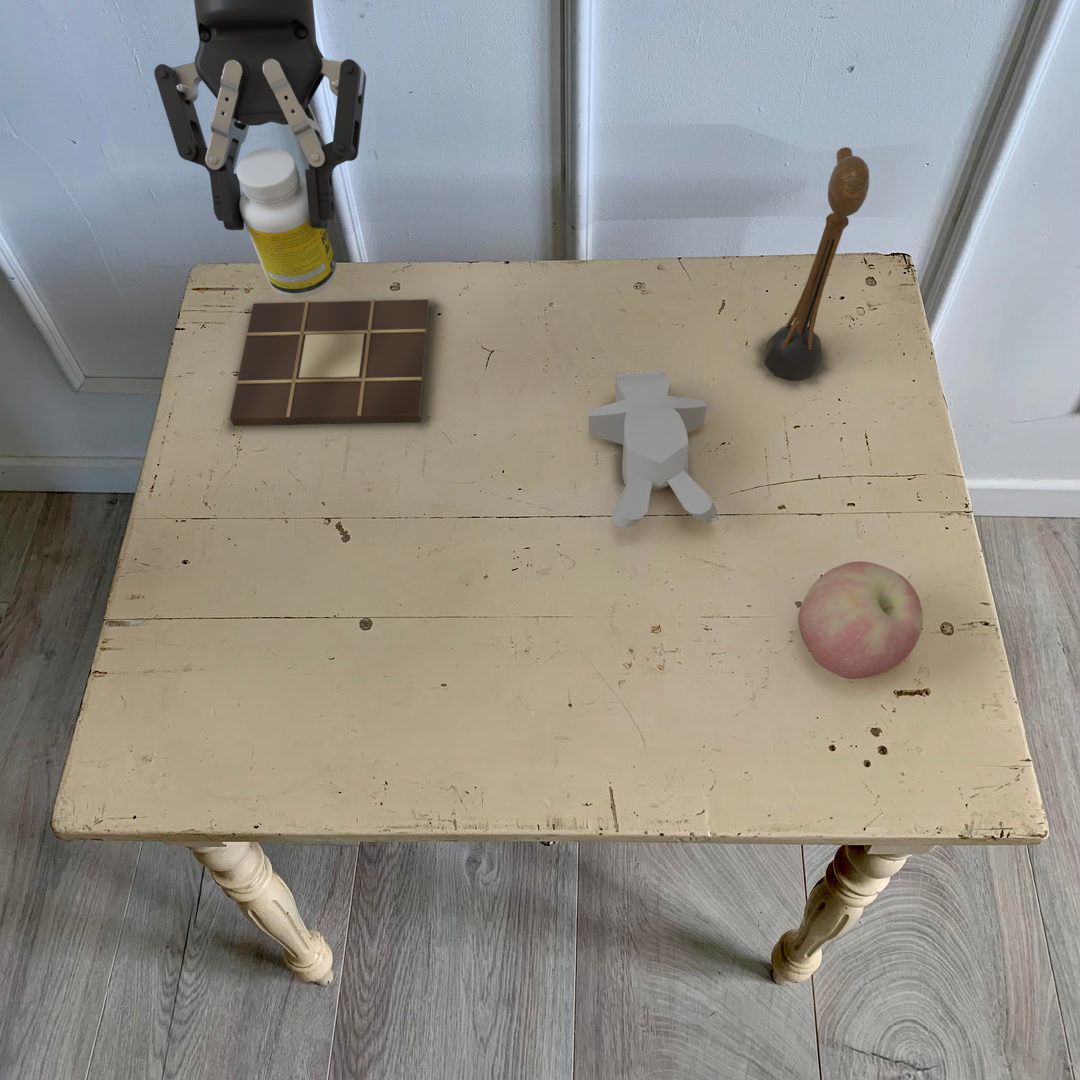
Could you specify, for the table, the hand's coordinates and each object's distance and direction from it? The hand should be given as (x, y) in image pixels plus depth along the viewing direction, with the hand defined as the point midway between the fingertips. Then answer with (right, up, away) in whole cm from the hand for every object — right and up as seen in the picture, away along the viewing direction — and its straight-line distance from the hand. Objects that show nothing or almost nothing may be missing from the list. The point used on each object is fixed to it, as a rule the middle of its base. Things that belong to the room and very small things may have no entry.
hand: (277, 227), depth 62 cm
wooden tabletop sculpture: (+40, -6, +15) cm, 43 cm away
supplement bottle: (0, -1, +6) cm, 7 cm away
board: (0, -6, +16) cm, 17 cm away
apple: (+40, -29, +2) cm, 50 cm away
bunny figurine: (+27, -16, +10) cm, 33 cm away
